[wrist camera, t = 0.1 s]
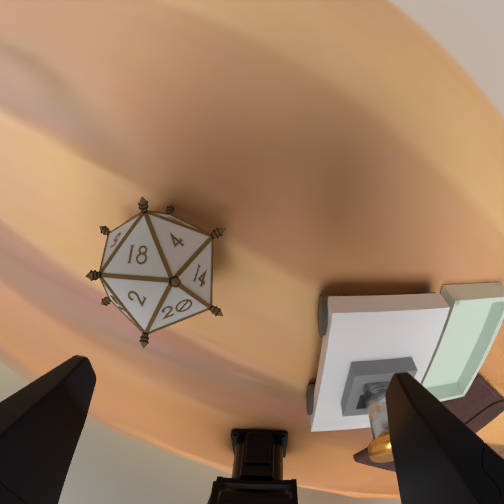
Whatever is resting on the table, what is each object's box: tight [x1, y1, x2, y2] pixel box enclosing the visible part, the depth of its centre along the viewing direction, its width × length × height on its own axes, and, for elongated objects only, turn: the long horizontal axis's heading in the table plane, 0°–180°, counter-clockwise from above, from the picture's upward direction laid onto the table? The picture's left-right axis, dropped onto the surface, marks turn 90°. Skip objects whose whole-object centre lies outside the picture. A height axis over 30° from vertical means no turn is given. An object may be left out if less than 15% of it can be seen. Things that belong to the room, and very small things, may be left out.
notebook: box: [353, 373, 504, 472], centre depth 32 cm, size 15×20×2 cm
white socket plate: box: [307, 292, 450, 432], centre depth 23 cm, size 14×10×6 cm
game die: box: [86, 197, 225, 348], centre depth 19 cm, size 9×8×10 cm
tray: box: [421, 282, 504, 402], centre depth 24 cm, size 13×7×2 cm, turn 1°
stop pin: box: [362, 381, 394, 463], centre depth 19 cm, size 3×3×7 cm
